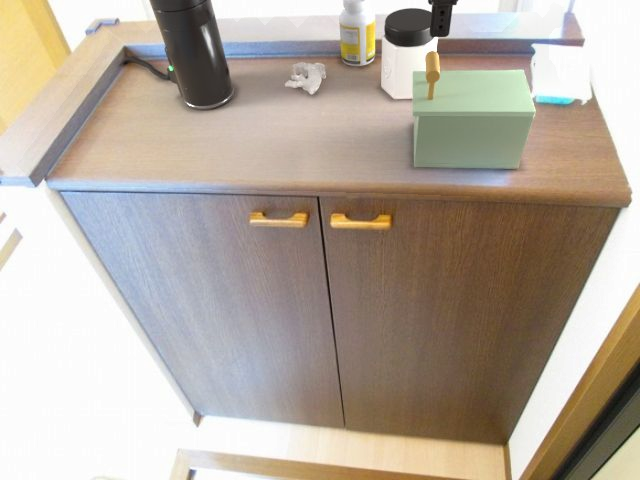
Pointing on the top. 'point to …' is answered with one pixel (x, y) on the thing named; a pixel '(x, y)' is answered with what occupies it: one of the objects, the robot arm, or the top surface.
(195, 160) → the top surface
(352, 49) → the pill bottle
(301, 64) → the pelvis model
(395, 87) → the jar
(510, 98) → the lid
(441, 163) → the chest
